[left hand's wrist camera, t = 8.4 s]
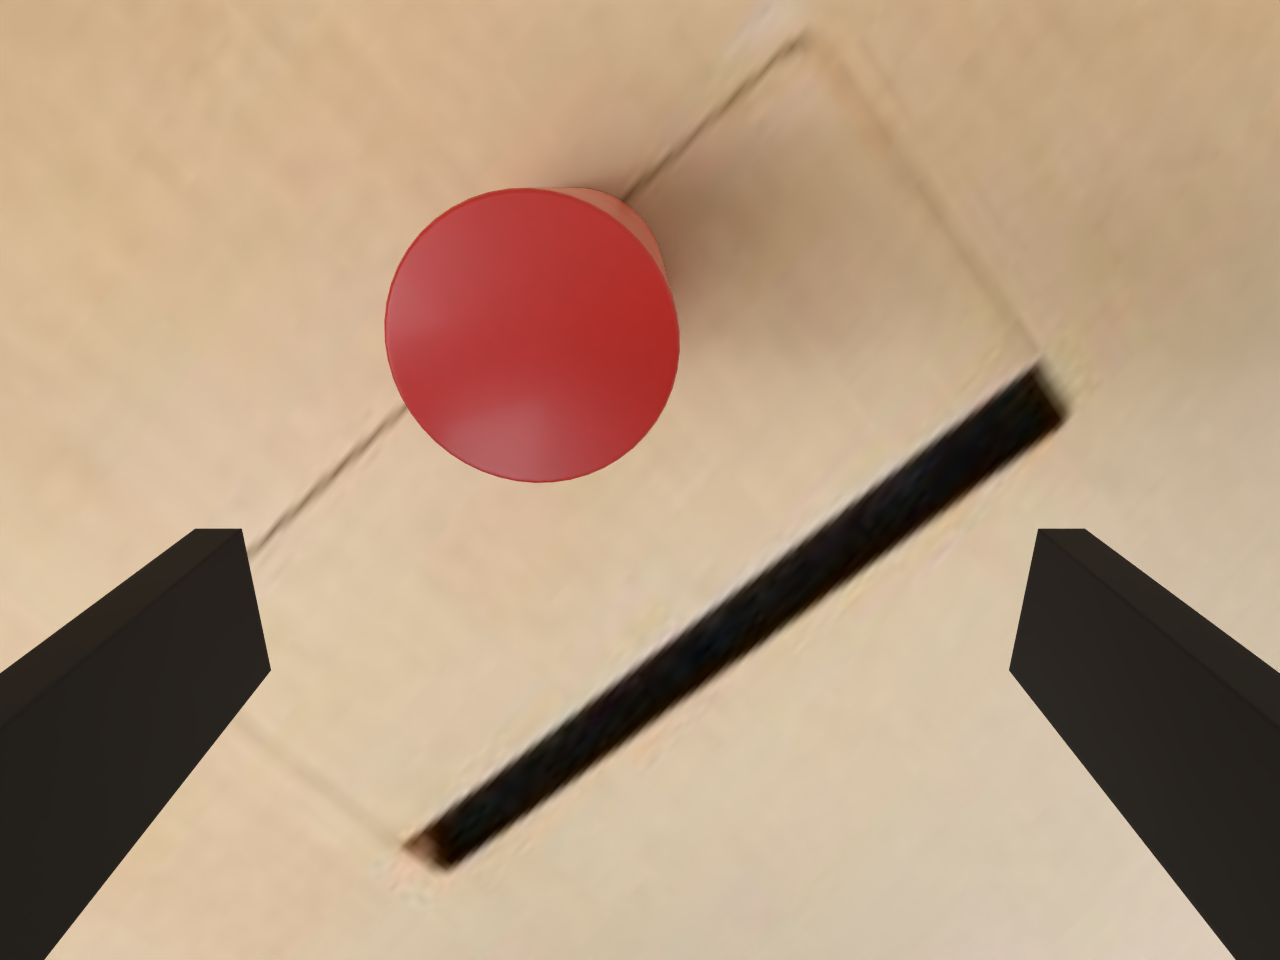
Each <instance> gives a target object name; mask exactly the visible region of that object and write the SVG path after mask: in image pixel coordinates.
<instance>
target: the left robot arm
mask: <svg viewBox="0 0 1280 960" xmlns="http://www.w3.org/2000/svg"><path fill="white" fill-rule="evenodd" d="M270 671H271V668H270V663H269V658H268V654H267V649H266V644H265V639H264V634H263V629H262V624H261V620H260V615H259V610H258V605H257V600H256V595H255V591H254V586H253V581H252V576H251V571H250V566H249V561H248V557H247V552H246V547H245V542H244V537H243V532H242V529H194V530H193V531H192V532H190V533H189V534H188V535H186V536H185V537H183V538H182V539H181V540H179V541H178V542H177V543H175V544H174V545H173V546H171V547H170V548H169V549H167V550H166V551H165V552H163V553H162V554H161V555H159V556H158V557H156V558H155V559H154V560H152V561H151V562H150V563H148V564H147V565H146V566H144V567H143V568H142V569H140V570H139V571H138V572H136V573H135V574H134V575H132V576H131V577H130V578H128V579H127V580H125V581H124V582H123V583H121V584H120V585H119V586H117V587H116V588H115V589H113V590H112V591H111V592H109V593H108V594H107V595H105V596H104V597H103V598H101V599H100V600H99V601H97V602H96V603H94V604H93V605H92V606H90V607H89V608H88V609H86V610H85V611H84V612H82V613H81V614H80V615H78V616H77V617H76V618H74V619H73V620H72V621H70V622H69V623H67V624H66V625H65V626H63V627H62V628H61V629H59V630H58V631H57V632H55V633H54V634H53V635H51V636H50V637H49V638H47V639H46V640H45V641H43V642H42V643H41V644H39V645H38V646H36V647H35V648H34V649H32V650H31V651H30V652H28V653H27V654H26V655H24V656H23V657H22V658H20V659H19V660H18V661H16V662H15V663H14V664H12V665H11V666H9V667H8V668H7V669H5V670H4V671H3V672H1V673H0V960H44V959H45V958H46V957H47V956H48V954H49V953H50V952H51V950H52V949H53V948H54V947H55V945H56V944H57V943H58V942H59V940H60V939H61V938H62V936H63V935H64V934H65V933H66V931H67V930H68V929H69V928H70V926H71V925H72V924H73V922H74V921H75V920H76V919H77V917H78V916H79V915H80V913H81V912H82V911H83V910H84V908H85V907H86V906H87V905H88V903H89V902H90V901H91V899H92V898H93V897H94V896H95V894H96V893H97V892H98V890H99V889H100V888H101V887H102V885H103V884H104V883H105V882H106V880H107V879H108V878H109V876H110V875H111V874H112V873H113V871H114V870H115V869H116V867H117V866H118V865H119V864H120V862H121V861H122V860H123V859H124V857H125V856H126V855H127V853H128V852H129V851H130V850H131V848H132V847H133V846H134V845H135V843H136V842H137V841H138V839H139V838H140V837H141V836H142V834H143V833H144V832H145V830H146V829H147V828H148V827H149V825H150V824H151V823H152V822H153V820H154V819H155V818H156V816H157V815H158V814H159V813H160V811H161V810H162V809H163V807H164V806H165V805H166V804H167V802H168V801H169V800H170V799H171V797H172V796H173V795H174V793H175V792H176V791H177V790H178V788H179V787H180V786H181V784H182V783H183V782H184V781H185V779H186V778H187V777H188V776H189V774H190V773H191V772H192V770H193V769H194V768H195V767H196V765H197V764H198V763H199V761H200V760H201V759H202V758H203V756H204V755H205V754H206V753H207V751H208V750H209V749H210V747H211V746H212V745H213V744H214V742H215V741H216V740H217V739H218V737H219V736H220V735H221V733H222V732H223V731H224V730H225V728H226V727H227V726H228V724H229V723H230V722H231V721H232V719H233V718H234V717H235V716H236V714H237V713H238V712H239V710H240V709H241V708H242V707H243V705H244V704H245V703H246V701H247V700H248V699H249V698H250V696H251V695H252V694H253V693H254V691H255V690H256V689H257V687H258V686H259V685H260V684H261V682H262V681H263V680H264V678H265V677H266V676H267V675H268V673H269V672H270ZM1009 671H1010V672H1011V673H1012V675H1013V676H1014V677H1015V678H1016V680H1017V681H1018V682H1019V684H1020V685H1021V686H1022V687H1023V689H1024V690H1025V691H1026V693H1027V694H1028V695H1029V696H1030V698H1031V699H1032V700H1033V701H1034V703H1035V704H1036V705H1037V707H1038V708H1039V709H1040V710H1041V712H1042V713H1043V714H1044V716H1045V717H1046V718H1047V719H1048V721H1049V722H1050V723H1051V724H1052V726H1053V727H1054V728H1055V730H1056V731H1057V732H1058V733H1059V735H1060V736H1061V737H1062V739H1063V740H1064V741H1065V742H1066V744H1067V745H1068V746H1069V747H1070V749H1071V750H1072V751H1073V753H1074V754H1075V755H1076V756H1077V758H1078V759H1079V760H1080V761H1081V763H1082V764H1083V765H1084V767H1085V768H1086V769H1087V770H1088V772H1089V773H1090V774H1091V776H1092V777H1093V778H1094V779H1095V781H1096V782H1097V783H1098V784H1099V786H1100V787H1101V788H1102V790H1103V791H1104V792H1105V793H1106V795H1107V796H1108V797H1109V799H1110V800H1111V801H1112V802H1113V804H1114V805H1115V806H1116V807H1117V809H1118V810H1119V811H1120V813H1121V814H1122V815H1123V816H1124V818H1125V819H1126V820H1127V822H1128V823H1129V824H1130V825H1131V827H1132V828H1133V829H1134V830H1135V832H1136V833H1137V834H1138V836H1139V837H1140V838H1141V839H1142V841H1143V842H1144V843H1145V845H1146V846H1147V847H1148V848H1149V850H1150V851H1151V852H1152V853H1153V855H1154V856H1155V857H1156V859H1157V860H1158V861H1159V862H1160V864H1161V865H1162V866H1163V867H1164V869H1165V870H1166V871H1167V873H1168V874H1169V875H1170V876H1171V878H1172V879H1173V880H1174V882H1175V883H1176V884H1177V885H1178V887H1179V888H1180V889H1181V890H1182V892H1183V893H1184V894H1185V896H1186V897H1187V898H1188V899H1189V901H1190V902H1191V903H1192V905H1193V906H1194V907H1195V908H1196V910H1197V911H1198V912H1199V913H1200V915H1201V916H1202V917H1203V919H1204V920H1205V921H1206V922H1207V924H1208V925H1209V926H1210V928H1211V929H1212V930H1213V931H1214V933H1215V934H1216V935H1217V936H1218V938H1219V939H1220V940H1221V942H1222V943H1223V944H1224V945H1225V947H1226V948H1227V949H1228V950H1229V952H1230V953H1231V954H1232V956H1233V957H1234V958H1235V959H1236V960H1280V673H1279V672H1277V671H1276V670H1275V669H1273V668H1272V667H1271V666H1269V665H1268V664H1266V663H1265V662H1264V661H1262V660H1261V659H1260V658H1258V657H1257V656H1256V655H1254V654H1253V653H1252V652H1250V651H1249V650H1248V649H1246V648H1245V647H1244V646H1242V645H1241V644H1239V643H1238V642H1237V641H1235V640H1234V639H1233V638H1231V637H1230V636H1229V635H1227V634H1226V633H1225V632H1223V631H1222V630H1221V629H1219V628H1218V627H1217V626H1215V625H1214V624H1213V623H1211V622H1210V621H1208V620H1207V619H1206V618H1204V617H1203V616H1202V615H1200V614H1199V613H1198V612H1196V611H1195V610H1194V609H1192V608H1191V607H1190V606H1188V605H1187V604H1186V603H1184V602H1183V601H1181V600H1180V599H1179V598H1177V597H1176V596H1175V595H1173V594H1172V593H1171V592H1169V591H1168V590H1167V589H1165V588H1164V587H1163V586H1161V585H1160V584H1159V583H1157V582H1156V581H1155V580H1153V579H1152V578H1150V577H1149V576H1148V575H1146V574H1145V573H1144V572H1142V571H1141V570H1140V569H1138V568H1137V567H1136V566H1134V565H1133V564H1132V563H1130V562H1129V561H1128V560H1126V559H1125V558H1124V557H1122V556H1121V555H1119V554H1118V553H1117V552H1115V551H1114V550H1113V549H1111V548H1110V547H1109V546H1107V545H1106V544H1105V543H1103V542H1102V541H1101V540H1099V539H1098V538H1097V537H1095V536H1094V535H1092V534H1091V533H1090V532H1088V531H1087V530H1086V529H1038V532H1037V537H1036V542H1035V547H1034V552H1033V557H1032V561H1031V566H1030V571H1029V576H1028V581H1027V586H1026V591H1025V595H1024V600H1023V605H1022V610H1021V615H1020V620H1019V624H1018V629H1017V634H1016V639H1015V644H1014V649H1013V654H1012V658H1011V663H1010V668H1009Z"/></svg>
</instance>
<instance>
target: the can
mask: <svg viewBox="0 0 1280 960" xmlns="http://www.w3.org/2000/svg"><path fill="white" fill-rule="evenodd" d="M384 324H385V345H386V351H387V357H388V362H389V365H390V369H391V372H392V376H393V379H394V381H395V384H396V386H397V388H398V391H399V393H400V395H401V397H402V399H403V401H404V402H405V404H406V406H407V407H408V409H409V411H410V413H411V414H412V415H413V417H414V418H415V419H416V421H417V422H418V423H419V424H420V426H421V427H422V428H423V429H424V430H425V431H426V432H427V433H428V435H429V436H430V437H431V438H432V439H433V440H434V441H435V442H436V443H438V444H439V445H440V446H441V447H443V448H444V449H445V450H446V451H447V452H449V453H450V454H452V455H453V456H455V457H456V458H458V459H459V460H461V461H463V462H464V463H466V464H468V465H470V466H472V467H474V468H476V469H478V470H480V471H483V472H486V473H488V474H491V475H494V476H497V477H501V478H505V479H510V480H514V481H522V482H533V483H544V482H558V481H564V480H571V479H574V478H578V477H581V476H585V475H588V474H591V473H593V472H595V471H598V470H600V469H602V468H605V467H606V466H608V465H610V464H611V463H613V462H615V461H616V460H618V459H620V458H621V457H622V456H624V455H625V454H626V453H627V452H629V451H630V450H631V449H633V448H634V447H635V446H636V445H637V444H638V443H639V442H640V441H641V440H642V439H643V438H644V437H645V436H646V435H647V433H648V432H649V431H650V429H651V428H652V427H653V425H654V424H655V423H656V421H657V420H658V418H659V416H660V414H661V413H662V411H663V409H664V407H665V406H666V403H667V401H668V398H669V396H670V393H671V391H672V388H673V385H674V381H675V377H676V373H677V369H678V360H679V352H680V343H679V326H678V319H677V312H676V308H675V304H674V301H673V297H672V293H671V289H670V286H669V282H668V278H667V274H666V270H665V267H664V263H663V259H662V256H661V252H660V249H659V246H658V244H657V241H656V239H655V237H654V235H653V234H652V232H651V230H650V229H649V227H648V226H647V224H646V223H645V222H644V220H643V219H642V218H641V217H640V216H639V215H638V214H637V213H636V212H635V211H634V210H633V209H632V208H630V207H629V206H628V205H626V204H625V203H624V202H622V201H621V200H619V199H617V198H615V197H613V196H611V195H609V194H606V193H604V192H601V191H597V190H593V189H587V188H512V189H504V190H498V191H493V192H488V193H485V194H482V195H479V196H476V197H473V198H470V199H468V200H466V201H464V202H462V203H460V204H458V205H456V206H454V207H452V208H450V209H449V210H447V211H446V212H444V213H443V214H442V215H440V216H439V217H437V218H436V219H435V220H433V221H432V222H431V223H430V224H429V225H428V226H427V227H426V228H425V229H424V230H423V231H422V232H421V233H420V234H419V235H418V237H417V238H416V239H415V240H414V242H413V243H412V244H411V245H410V247H409V248H408V250H407V251H406V253H405V255H404V257H403V258H402V260H401V262H400V263H399V265H398V268H397V270H396V273H395V275H394V278H393V280H392V283H391V286H390V290H389V294H388V298H387V302H386V312H385V321H384Z"/></svg>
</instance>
